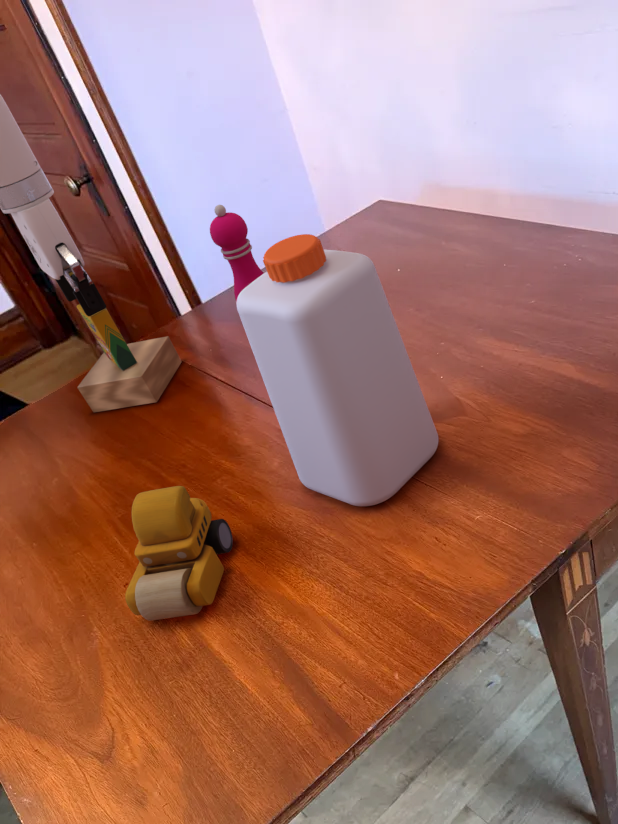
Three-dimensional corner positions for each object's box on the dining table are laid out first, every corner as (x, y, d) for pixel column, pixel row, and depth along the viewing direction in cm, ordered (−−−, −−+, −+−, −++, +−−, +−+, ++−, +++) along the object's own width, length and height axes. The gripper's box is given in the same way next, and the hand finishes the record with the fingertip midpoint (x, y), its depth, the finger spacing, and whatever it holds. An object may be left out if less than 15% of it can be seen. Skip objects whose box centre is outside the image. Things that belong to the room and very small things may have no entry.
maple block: (93, 412, 122) (76, 387, 119) (122, 372, 131) (107, 347, 127) (157, 402, 119) (141, 375, 116) (182, 361, 128) (168, 335, 124)
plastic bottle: (289, 486, 94) (189, 277, 75) (365, 416, 100) (291, 209, 82) (377, 519, 85) (288, 292, 66) (454, 440, 91) (394, 214, 73)
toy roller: (138, 632, 82) (86, 567, 75) (172, 540, 92) (130, 476, 85) (212, 621, 80) (166, 553, 73) (238, 529, 90) (200, 462, 83)
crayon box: (107, 359, 124) (68, 294, 116) (123, 350, 125) (85, 285, 117) (122, 372, 119) (82, 305, 111) (138, 362, 120) (100, 296, 112)
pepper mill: (239, 325, 132) (188, 213, 119) (270, 305, 135) (224, 193, 121) (261, 333, 127) (210, 217, 114) (293, 312, 130) (247, 196, 117)
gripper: (-16, 194, 108) (49, 302, 120) (11, 211, 96) (81, 330, 108) (32, 173, 110) (92, 281, 122) (64, 187, 99) (127, 306, 110)
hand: (87, 304), depth 115 cm, fingers open, 9 cm apart
